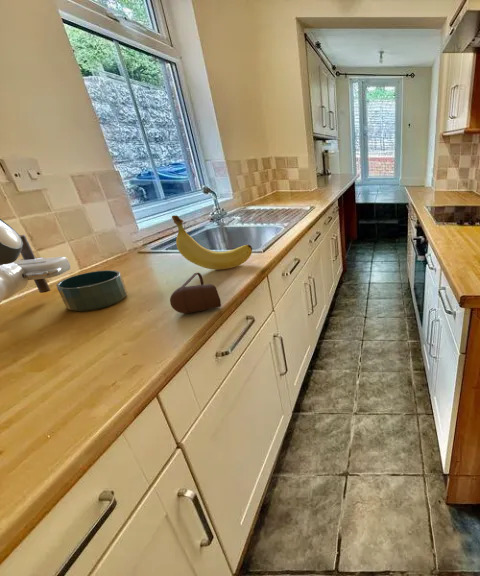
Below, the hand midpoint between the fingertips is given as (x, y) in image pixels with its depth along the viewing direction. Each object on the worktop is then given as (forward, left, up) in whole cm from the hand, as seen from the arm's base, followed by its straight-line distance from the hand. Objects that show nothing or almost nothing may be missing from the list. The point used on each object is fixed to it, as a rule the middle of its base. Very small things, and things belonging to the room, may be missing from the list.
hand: (32, 260), depth 87 cm
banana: (+43, -14, -12) cm, 46 cm away
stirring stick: (0, -1, -9) cm, 9 cm away
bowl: (+9, -14, -11) cm, 20 cm away
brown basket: (+28, -36, -12) cm, 47 cm away
